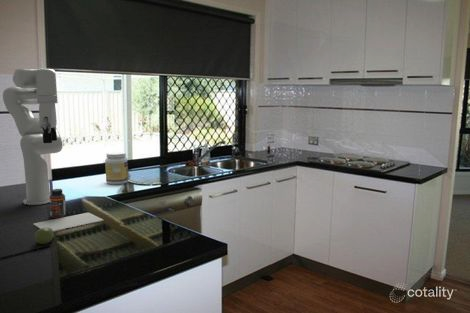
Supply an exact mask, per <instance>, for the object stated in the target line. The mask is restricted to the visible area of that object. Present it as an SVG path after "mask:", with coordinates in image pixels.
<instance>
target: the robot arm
mask: <svg viewBox="0 0 470 313" xmlns="http://www.w3.org/2000/svg"><path fill="white" fill-rule="evenodd" d="M56 74H57V73H56V71H55V70H54V69H51V68H37V69H36V68H35V69H34V68H18V69H15V70H14V73H13V75H12V81H13V84H14V85H15V86H11V87H7V88H6V89H5V90H3V92H2V100H3V101H2V102H3V104H4V106H5V108H6V110H7V112H8V113H9V114H10V115H11V117H12V118H13V120H14V122H15V126H16V129H17V131H18V133H19V135H20V136H21V138H20V140H19V143H20V144H19V145H20V150H21V153H22V157H23V167H24V168H23V169H24V178H25V180H24V182H25V190H26V198H24V199H23V204H24V205H26V204H27V205H28V206H38V205H45V204H48V203H49V204H50V196H51V195H50V191H49V190H50V187H49V172H48V171H49V170H48V163H47V161H46V160H45V159H44V158H43V157H42V155H48V154H49V155H51V154H57V153H59V152H61V151H62V150H63V140H62V137H61V134H60V132H59V130H58V128H57V123H58V122H57V109H56V104H58V89H57V88H58V87H57V75H56ZM25 105H38V117H34V116H35V115H34V114H33V111H31V109H30V108H28V107H27V106H25Z"/></svg>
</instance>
